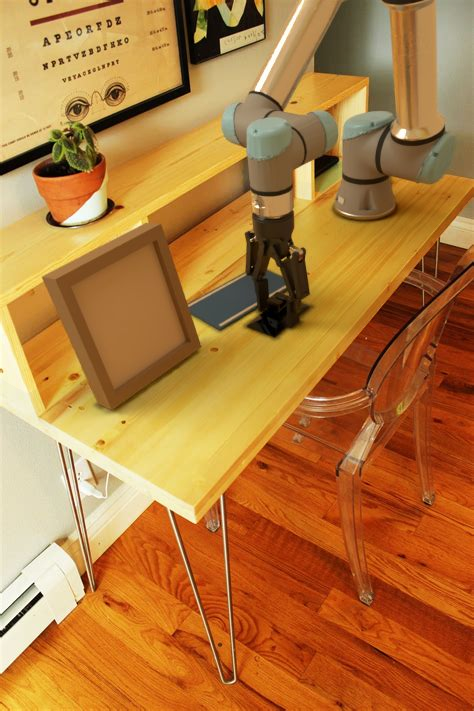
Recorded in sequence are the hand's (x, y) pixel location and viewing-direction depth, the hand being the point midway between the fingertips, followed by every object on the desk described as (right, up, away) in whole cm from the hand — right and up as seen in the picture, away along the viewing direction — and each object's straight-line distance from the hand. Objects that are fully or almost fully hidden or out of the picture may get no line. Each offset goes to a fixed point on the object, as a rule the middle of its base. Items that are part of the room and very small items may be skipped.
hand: (278, 315), depth 126 cm
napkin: (-8, +5, +7) cm, 12 cm away
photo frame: (-28, -10, -8) cm, 30 cm away
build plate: (0, 0, 0) cm, 0 cm away
